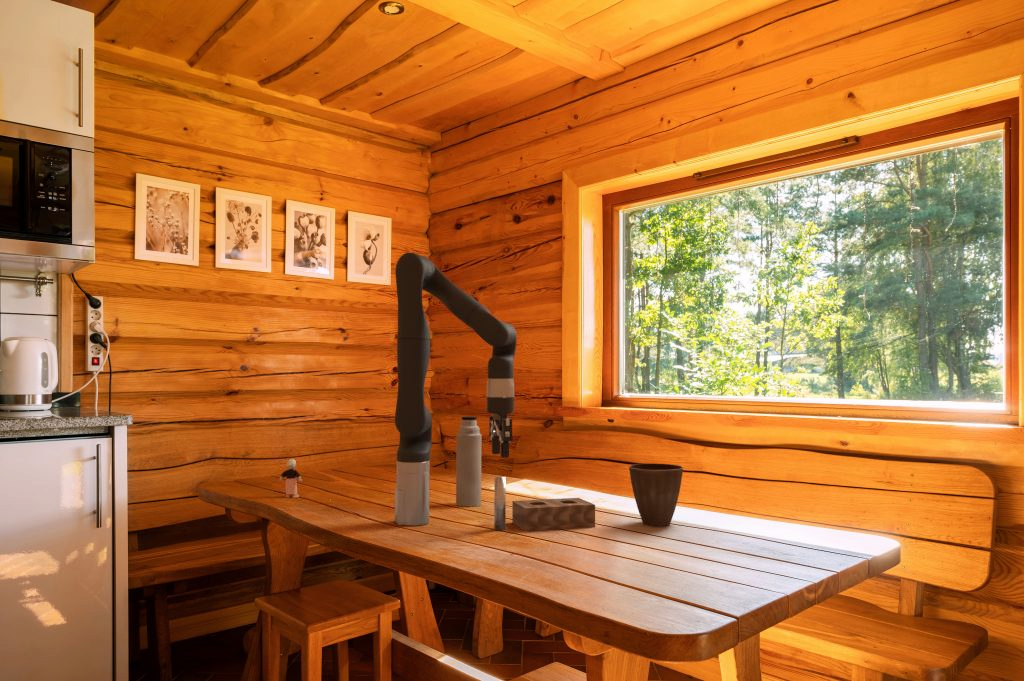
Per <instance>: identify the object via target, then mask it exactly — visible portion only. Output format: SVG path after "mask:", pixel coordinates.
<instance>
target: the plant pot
mask: <svg viewBox="0 0 1024 681" xmlns="http://www.w3.org/2000/svg"><path fill="white" fill-rule="evenodd" d="M628 470H629V477H630V484H631V488H632V492H633V496H634V500H635V504H636V507H637V510H638V513H639V517H640V518H641V521H642V523H643V525H644V526H649V527H650V526H651V527H667V526H670V525H671V523H672V519H673V516H674V514H675V510H676V507H677V504H678V502H679V501H678V500H679V496H680V492H681V488H682V486H681V485H682V481H683V480H682V479H683V472H684V466H682V465H679V464H670V463H636V464H635V463H634V464H630V465H629V466H628Z"/></svg>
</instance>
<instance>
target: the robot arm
mask: <svg viewBox="0 0 1024 681" xmlns="http://www.w3.org/2000/svg"><path fill="white" fill-rule="evenodd" d="M394 271H395V283H396V296H397V336H396V338H397V339H396V358H397V361H396V362H397V363H396V364H397V366H396V368H397V370H396V371H397V398H396V407H395V414H394V425H395V428H396V430H397V432H399V444H398V448H397V452H396V486H395V488H394V522H395V524H396V525H397V526H422V525H427V524H429V523H430V483H431V482H430V479H431V478H430V476H431V474H430V472H431V470H430V468H431V466H430V465H431V464H430V463H431V461H430V459H431V452H432V442H433V440H432V439H433V417H432V413H431V411H430V409H429V408H428V407H427V406H426V405H425V382H426V378H427V373H428V371H429V370H428V369H429V363H430V358H431V357H430V356H431V331H430V327H429V323H428V320H427V317H426V314H425V308H424V306H423V305H424V303H423V291H425V292H427V293H429V294H431V295H432V296H434V297H435V298H436V299H438V300H439V302H441V303H442V304H443V305H444V306H445V307H446V308H447V310H448V311H449V312H450V313H452V315H453V316H454V317H456V318H457V319H458V320H460V321H461V322H462V323H463V324H465V325H466V326H467V327H468V328H470V329H472V330H473V331H474V332H475V333H476V334H477V335H478V336H479V338H481V339H482V340H483V341H484V342H485V343H487V344H488V345H489V346H491V347H492V352H491V357H490V358H489V360H488V361H487V362H488V363H487V382H486V413H488V414H493V415H489V417H488V418H489V420H488V422H489V424H488V437H489V438H490V440H491V454H492V455H500V457H501V458H503V459H505V458H509V457H510V444H511V442H512V441H513V418H509V415H508V414H513V413H514V412H515V382H514V360H515V356H516V351H517V350H516V349H517V344H518V343H517V342H518V341H517V340H518V339H517V338H518V337H517V331H516V329H515V327H514V325H512V324H511V323H508V322H503V321H501V320H500V319H499V318H497V317H495V316H493V314H491V313H490V310H489V309H488V308H487V307H486V306H484V305H483V304H482V303H481V302H479V301H478V300H477V299H475V298H474V297H473V296H471V295H469V294H468V293H466V292H465V291H464V290H463V289H461V288H460V287H458V286H457V285H456V284H455V283H454V282H452V281H451V280H450V279H449V278H447V276H446V275H444V273H443V272H442V271H441V270H440V269H438V267H437V266H436V265H435V264H434V262H432V261H431V260H430V258H428V257H426V256H424V255H421V254H419V253H414V252H406V253H404V254H402V255H401V256H400V257H399V258H398V259H397V261H396V265H395V270H394Z"/></svg>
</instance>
